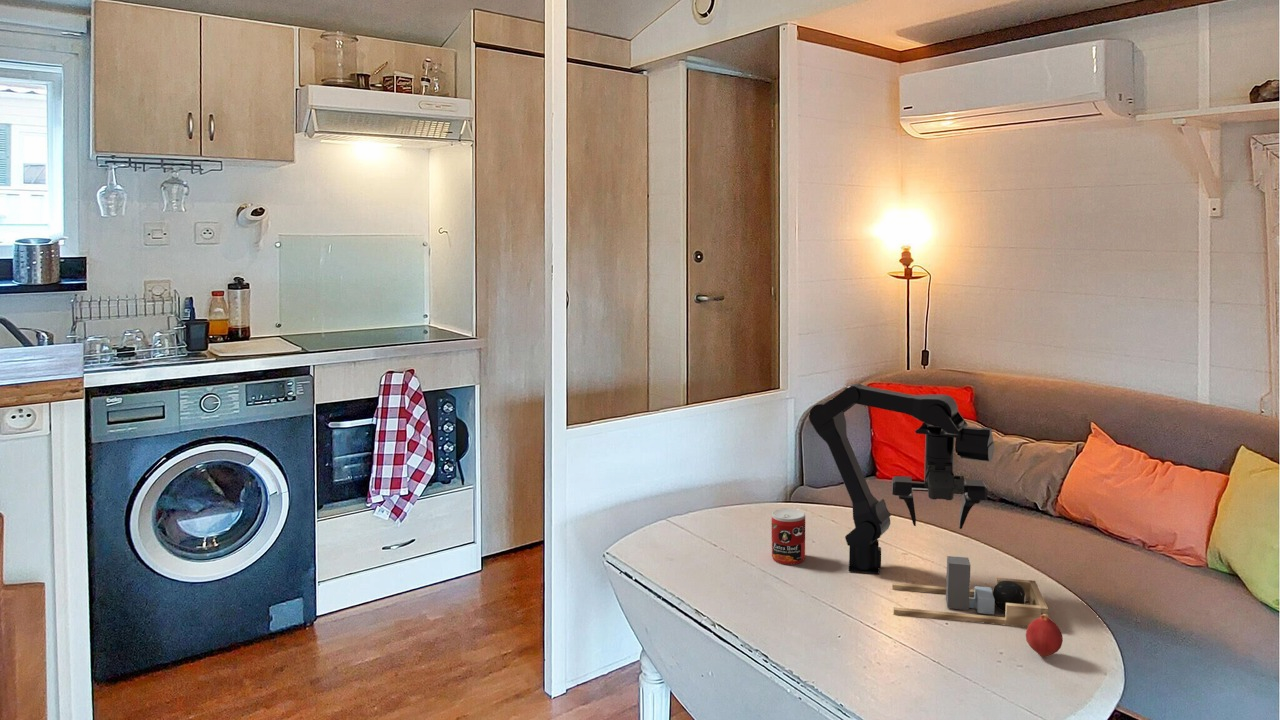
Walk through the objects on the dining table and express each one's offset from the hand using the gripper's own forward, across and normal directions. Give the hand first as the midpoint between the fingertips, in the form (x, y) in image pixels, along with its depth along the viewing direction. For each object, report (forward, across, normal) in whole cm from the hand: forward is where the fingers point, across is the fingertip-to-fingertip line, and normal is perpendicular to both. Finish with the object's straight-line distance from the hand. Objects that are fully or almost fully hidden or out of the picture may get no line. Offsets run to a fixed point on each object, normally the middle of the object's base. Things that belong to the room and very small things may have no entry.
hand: (937, 526), depth 176 cm
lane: (+12, +1, -11) cm, 17 cm away
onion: (+13, +16, -29) cm, 35 cm away
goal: (+12, +15, -11) cm, 22 cm away
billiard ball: (+13, +13, -11) cm, 21 cm away
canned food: (+13, -32, +7) cm, 35 cm away
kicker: (+12, +6, -11) cm, 17 cm away
